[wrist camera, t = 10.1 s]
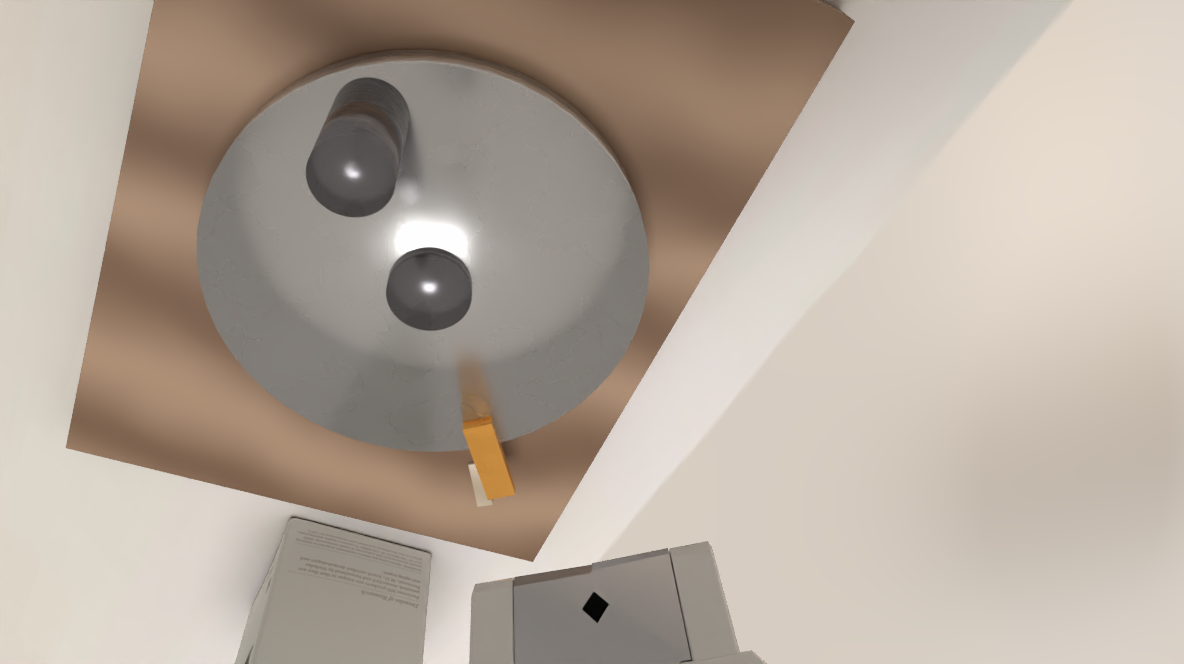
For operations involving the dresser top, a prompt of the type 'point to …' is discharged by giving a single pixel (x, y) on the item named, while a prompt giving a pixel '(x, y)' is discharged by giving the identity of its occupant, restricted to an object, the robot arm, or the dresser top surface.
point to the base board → (445, 23)
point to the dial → (424, 254)
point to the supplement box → (338, 601)
